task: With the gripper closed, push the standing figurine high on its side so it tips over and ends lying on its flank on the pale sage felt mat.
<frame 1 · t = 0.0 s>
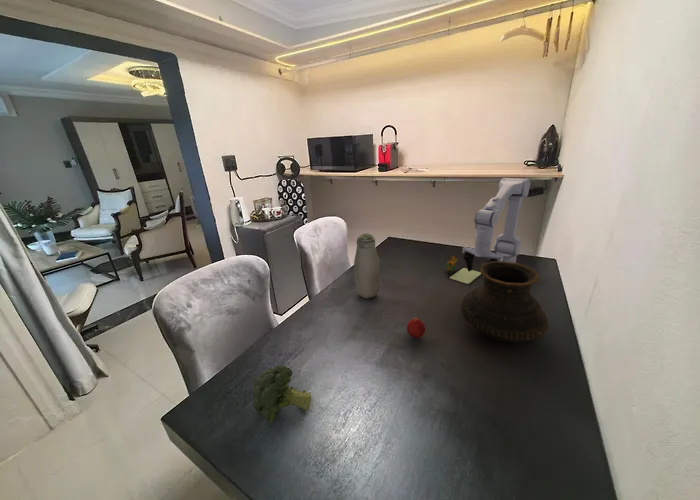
hand: (479, 273, 104), 10 cm above the table, tool pointing down, fingers open, 7 cm apart
onion: (415, 338, 87), on the table
felt mat: (465, 275, 124), on the table
vegetable: (284, 406, 68), on the table
ceramic pot: (498, 332, 87), on the table
glass bottle: (368, 296, 114), on the table
figurine: (451, 271, 129), on the table
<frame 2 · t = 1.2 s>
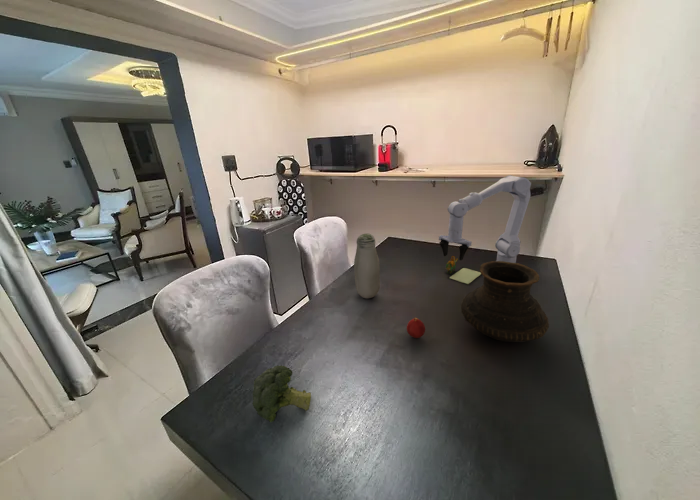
hand: (453, 257, 121), 10 cm above the table, tool pointing down, fingers open, 7 cm apart
nothing on the table moved.
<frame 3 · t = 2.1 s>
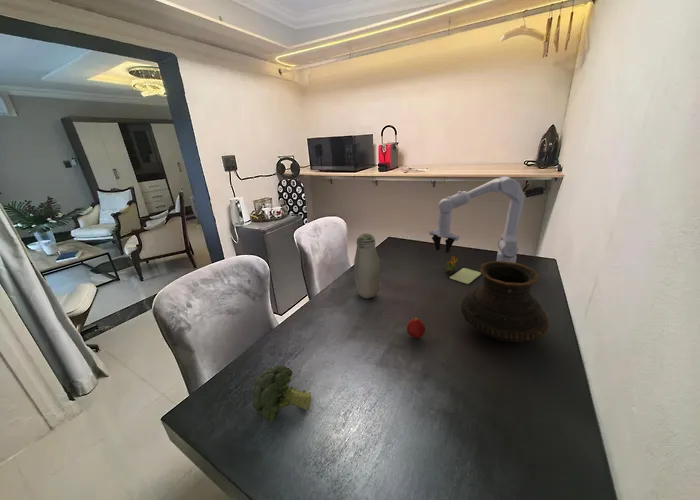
hand: (442, 251, 129), 9 cm above the table, tool pointing down, fingers open, 5 cm apart
nothing on the table moved.
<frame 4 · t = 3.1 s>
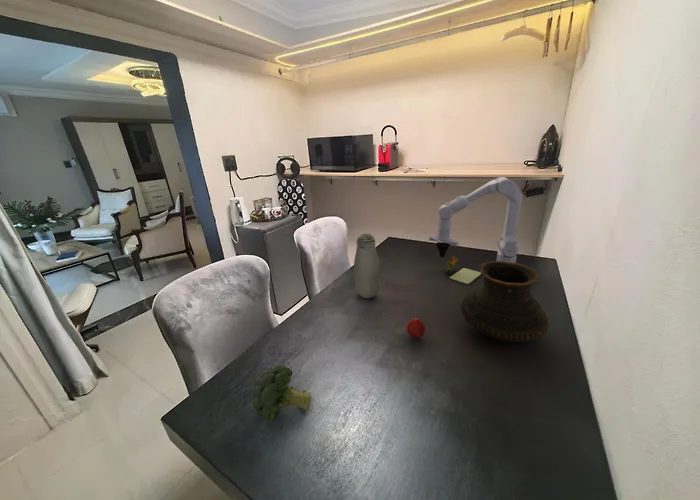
hand: (442, 256, 130), 7 cm above the table, tool pointing down, fingers closed
nothing on the table moved.
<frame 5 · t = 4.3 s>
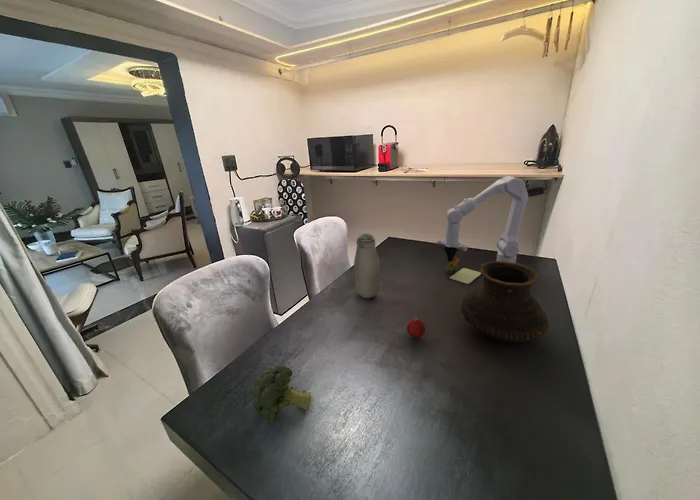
hand: (450, 260, 127), 5 cm above the table, tool pointing down, fingers closed
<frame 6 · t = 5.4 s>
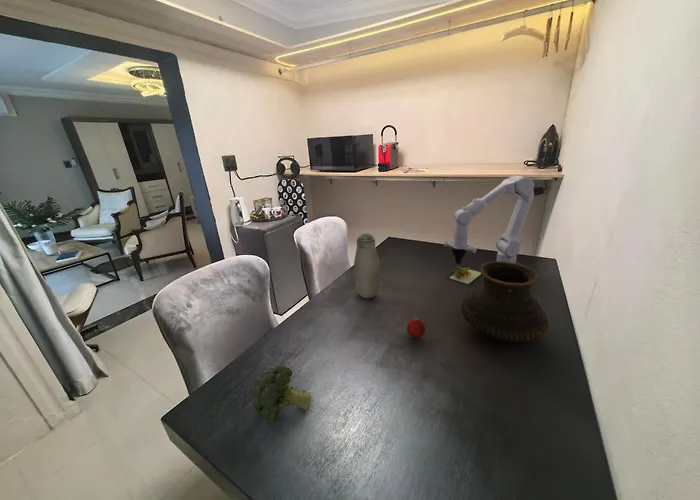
hand: (458, 263, 124), 5 cm above the table, tool pointing down, fingers closed
figurine: (454, 268, 127), point 2 cm above the table, touching felt mat
everything else where it was.
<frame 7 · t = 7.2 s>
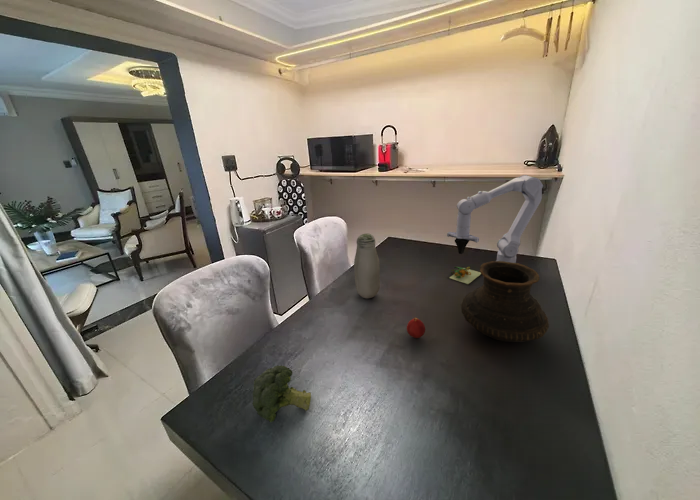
hand: (461, 253, 125), 9 cm above the table, tool pointing down, fingers closed
nothing on the table moved.
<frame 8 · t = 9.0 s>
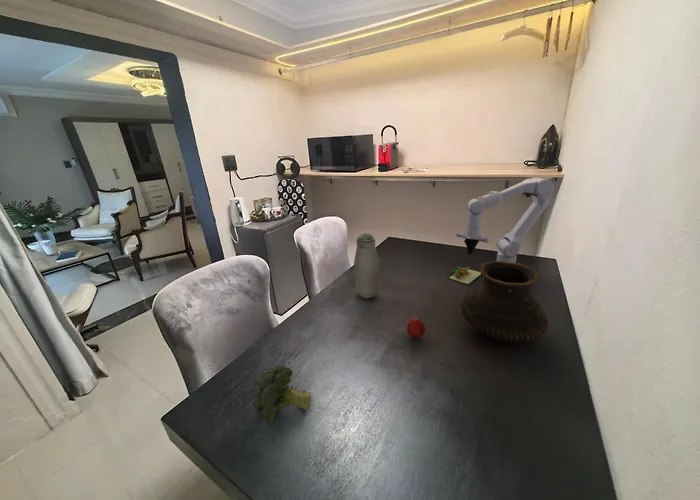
hand: (470, 253, 124), 9 cm above the table, tool pointing down, fingers closed
nothing on the table moved.
at the end: figurine tilted 90°; figurine 6.0 cm from the felt mat (horizontally) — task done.
